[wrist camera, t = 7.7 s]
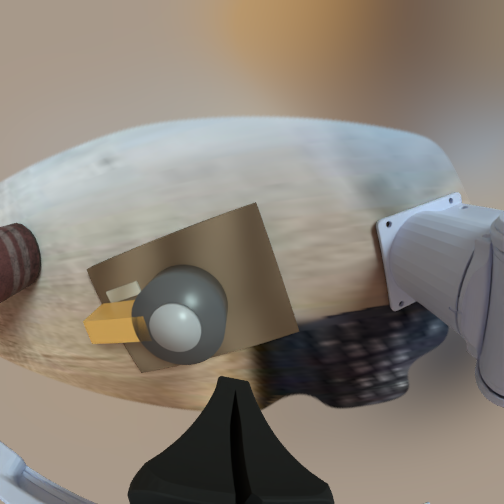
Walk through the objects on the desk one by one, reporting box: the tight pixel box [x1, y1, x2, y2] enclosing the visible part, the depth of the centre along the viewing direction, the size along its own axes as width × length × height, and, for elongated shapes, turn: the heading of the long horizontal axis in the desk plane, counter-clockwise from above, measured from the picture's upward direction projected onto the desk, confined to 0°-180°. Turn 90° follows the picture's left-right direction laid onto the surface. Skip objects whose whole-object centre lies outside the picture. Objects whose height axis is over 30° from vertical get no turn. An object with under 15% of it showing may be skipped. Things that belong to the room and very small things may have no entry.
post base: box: [87, 202, 299, 373], centre depth 20 cm, size 14×10×1 cm
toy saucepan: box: [83, 264, 228, 365], centre depth 17 cm, size 10×6×4 cm, turn 100°
